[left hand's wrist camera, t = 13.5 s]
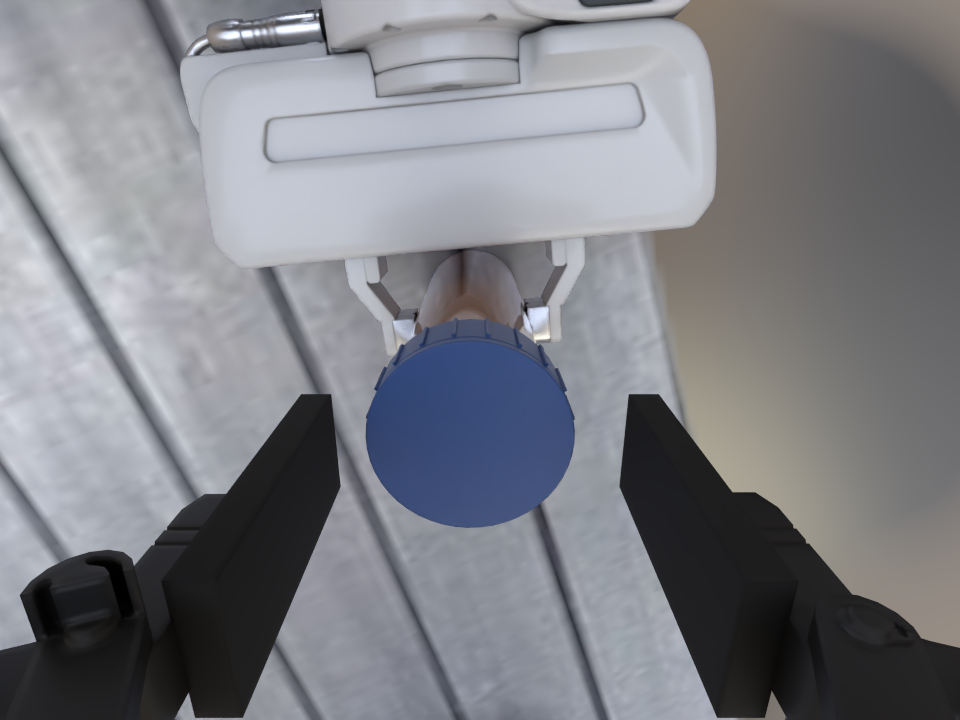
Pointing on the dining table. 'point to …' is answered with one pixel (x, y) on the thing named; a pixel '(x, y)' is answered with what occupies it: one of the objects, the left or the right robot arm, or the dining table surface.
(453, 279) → the jar
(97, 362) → the dining table surface
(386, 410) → the lid
